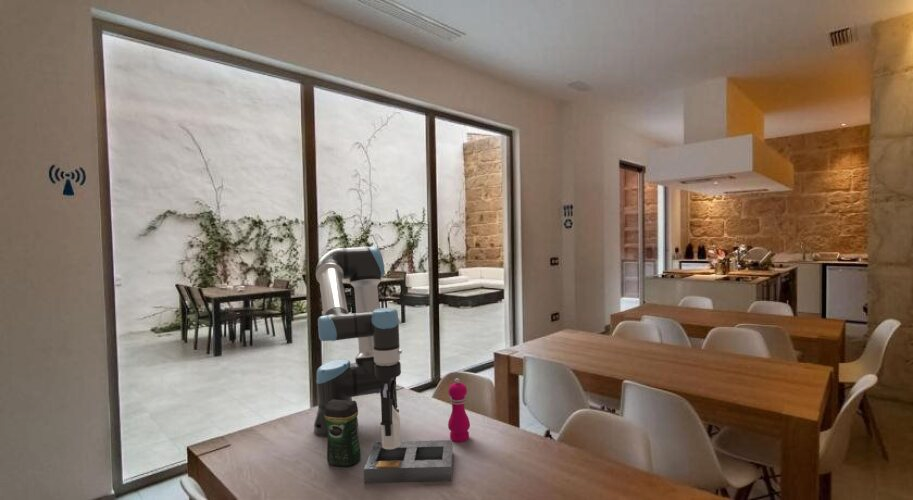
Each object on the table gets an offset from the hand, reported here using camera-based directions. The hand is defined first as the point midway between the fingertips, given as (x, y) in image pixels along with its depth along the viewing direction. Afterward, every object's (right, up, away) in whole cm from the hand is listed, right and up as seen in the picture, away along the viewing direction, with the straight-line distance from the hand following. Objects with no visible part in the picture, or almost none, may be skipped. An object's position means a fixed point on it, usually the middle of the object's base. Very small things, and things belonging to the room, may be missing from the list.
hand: (391, 440), depth 136 cm
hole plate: (+6, -8, 0) cm, 10 cm away
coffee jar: (-15, -9, +6) cm, 18 cm away
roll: (0, -2, 0) cm, 2 cm away
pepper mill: (+20, -7, +18) cm, 28 cm away
